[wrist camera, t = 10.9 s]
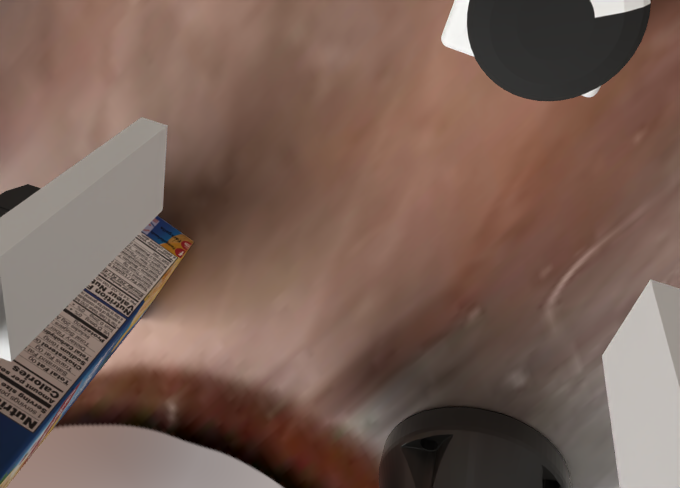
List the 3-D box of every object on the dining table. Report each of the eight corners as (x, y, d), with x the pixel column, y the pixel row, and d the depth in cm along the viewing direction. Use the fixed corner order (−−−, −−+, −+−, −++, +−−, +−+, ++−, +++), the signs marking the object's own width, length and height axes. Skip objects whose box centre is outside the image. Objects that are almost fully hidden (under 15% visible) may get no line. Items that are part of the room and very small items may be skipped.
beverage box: (194, 240, 47) (-15, 496, 29) (139, 320, 53) (-60, 569, 36) (116, 184, 46) (-150, 414, 28) (69, 272, 52) (-171, 504, 35)
